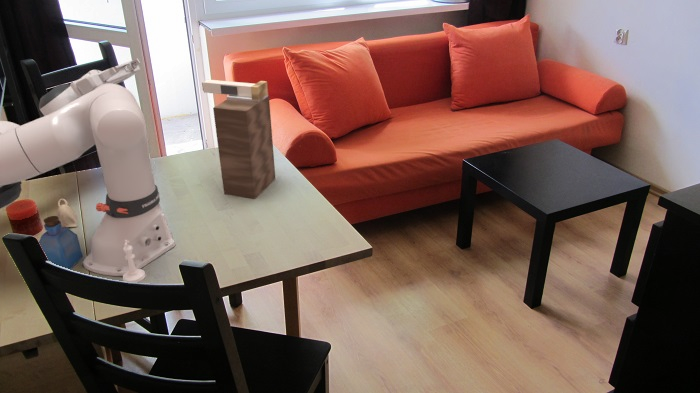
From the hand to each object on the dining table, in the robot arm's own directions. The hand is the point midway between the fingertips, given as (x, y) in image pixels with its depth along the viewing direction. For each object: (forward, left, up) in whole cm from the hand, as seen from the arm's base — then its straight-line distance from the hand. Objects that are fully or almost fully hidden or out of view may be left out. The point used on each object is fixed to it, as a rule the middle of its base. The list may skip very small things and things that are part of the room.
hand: (126, 65), depth 159 cm
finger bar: (+9, -27, -8) cm, 30 cm away
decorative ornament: (-29, +5, -36) cm, 46 cm away
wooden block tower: (+5, -32, -36) cm, 48 cm away
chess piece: (-45, -28, -36) cm, 64 cm away
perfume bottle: (-45, -8, -36) cm, 58 cm away
